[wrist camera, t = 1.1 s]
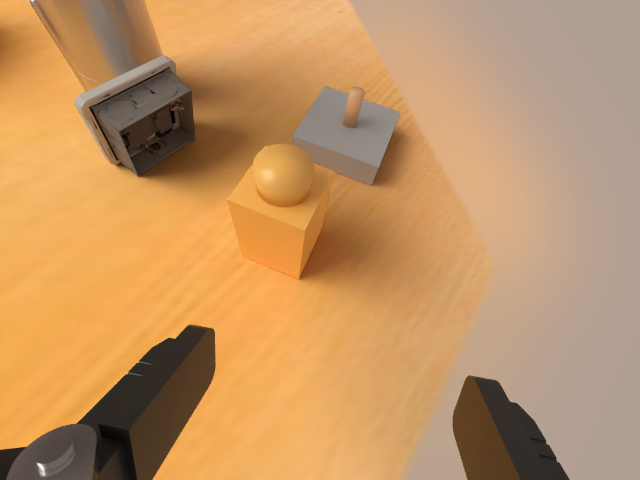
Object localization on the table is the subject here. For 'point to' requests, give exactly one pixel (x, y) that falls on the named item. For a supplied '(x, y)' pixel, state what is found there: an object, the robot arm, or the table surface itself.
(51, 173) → the table surface
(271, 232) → the orange toy brick
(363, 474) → the table surface
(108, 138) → the electrical switch
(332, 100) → the gray cube with knob
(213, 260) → the table surface
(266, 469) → the table surface
